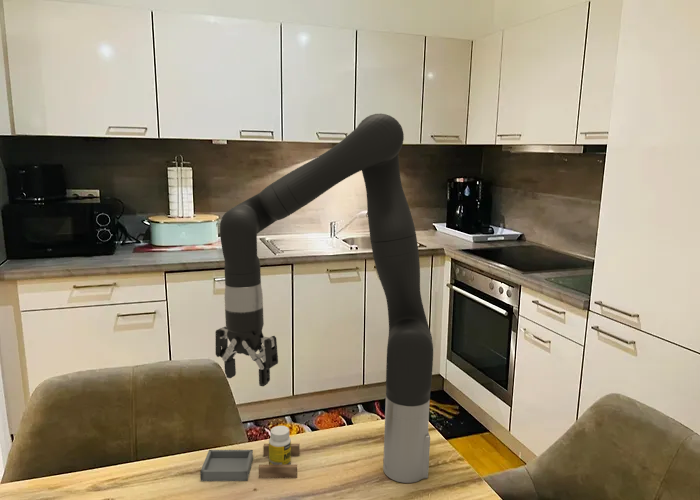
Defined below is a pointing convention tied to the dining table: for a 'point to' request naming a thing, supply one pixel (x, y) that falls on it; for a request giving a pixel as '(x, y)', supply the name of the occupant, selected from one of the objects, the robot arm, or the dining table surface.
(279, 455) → the supplement bottle
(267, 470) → the slot rails
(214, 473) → the tray
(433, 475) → the dining table surface
